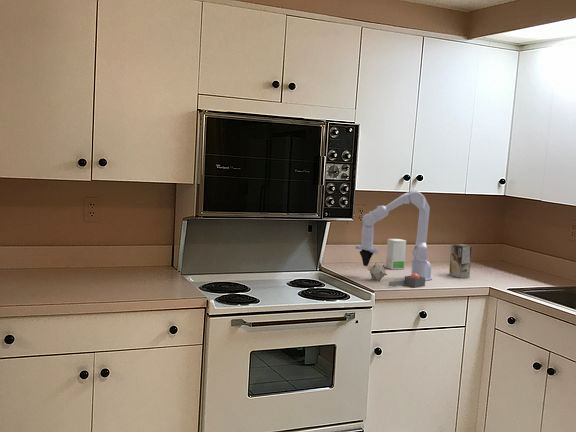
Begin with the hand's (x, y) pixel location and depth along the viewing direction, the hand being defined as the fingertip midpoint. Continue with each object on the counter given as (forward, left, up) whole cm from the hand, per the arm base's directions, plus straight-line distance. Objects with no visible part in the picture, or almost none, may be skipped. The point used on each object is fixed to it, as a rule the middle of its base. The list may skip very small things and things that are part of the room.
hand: (365, 265), depth 323 cm
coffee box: (-47, +21, -6) cm, 51 cm away
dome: (-9, +25, -5) cm, 27 cm away
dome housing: (-9, +25, -6) cm, 27 cm away
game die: (0, +9, -6) cm, 10 cm away
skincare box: (-30, -8, -6) cm, 31 cm away
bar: (0, +22, -6) cm, 22 cm away
